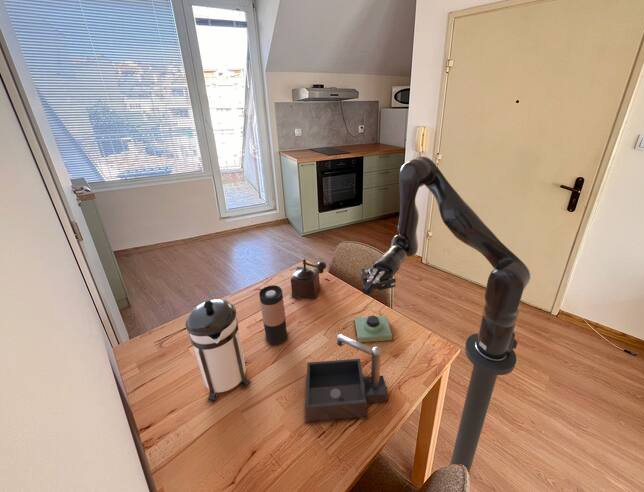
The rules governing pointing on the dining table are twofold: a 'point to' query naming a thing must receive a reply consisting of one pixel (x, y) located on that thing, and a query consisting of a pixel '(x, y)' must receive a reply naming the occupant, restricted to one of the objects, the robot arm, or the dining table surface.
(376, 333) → the switch block
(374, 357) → the faucet
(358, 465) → the dining table surface
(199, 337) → the coffee press
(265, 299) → the travel mug
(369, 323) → the button
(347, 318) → the dining table surface
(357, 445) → the dining table surface
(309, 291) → the manual coffee grinder
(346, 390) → the sink
